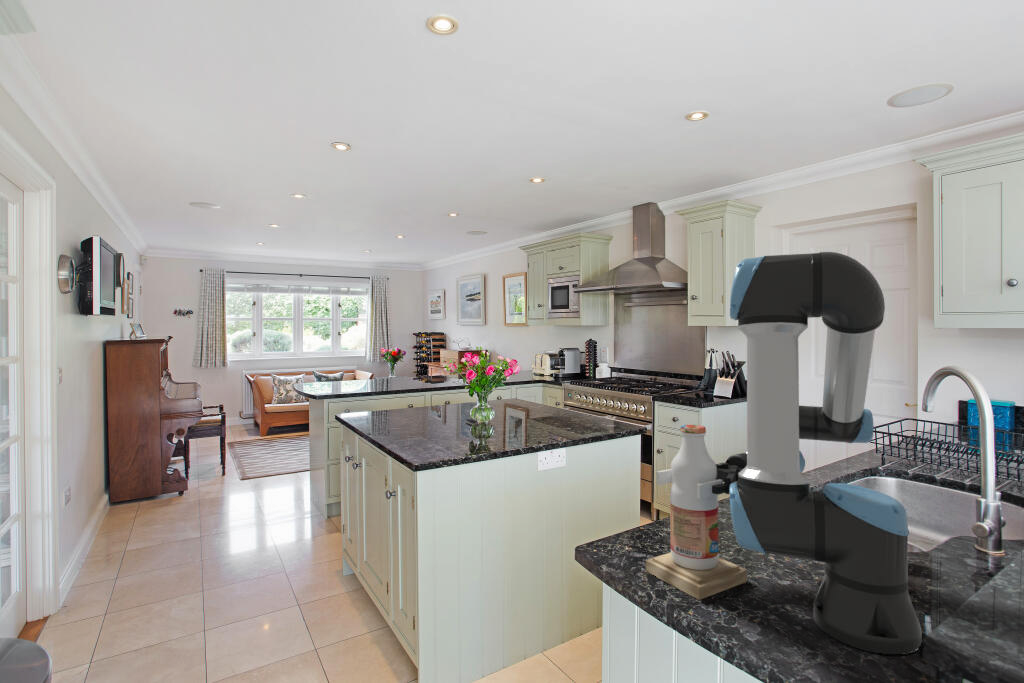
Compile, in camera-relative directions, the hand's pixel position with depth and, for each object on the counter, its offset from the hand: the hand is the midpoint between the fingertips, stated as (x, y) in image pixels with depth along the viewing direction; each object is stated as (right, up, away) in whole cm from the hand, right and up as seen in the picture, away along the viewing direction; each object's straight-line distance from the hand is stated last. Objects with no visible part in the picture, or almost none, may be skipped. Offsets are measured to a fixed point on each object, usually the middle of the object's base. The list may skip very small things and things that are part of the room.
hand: (677, 484), depth 107 cm
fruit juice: (+4, -17, +2) cm, 17 cm away
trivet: (+4, -19, +2) cm, 20 cm away
